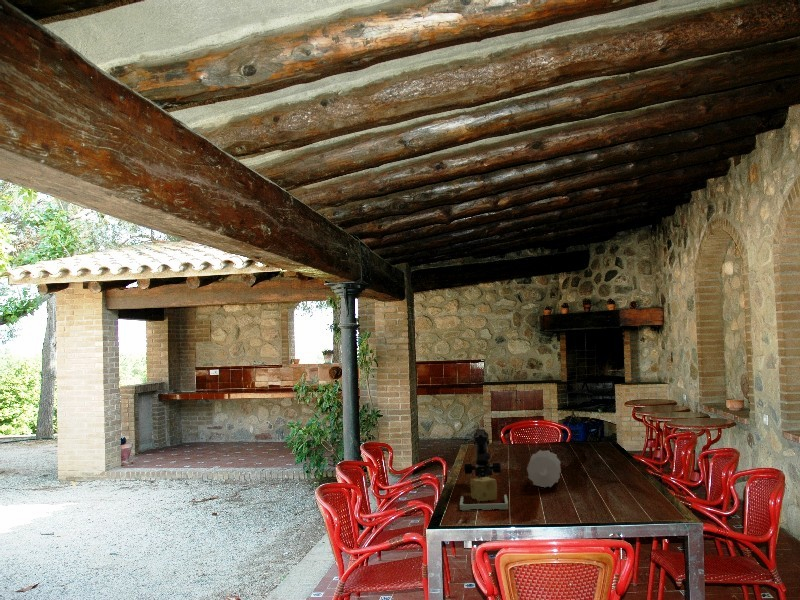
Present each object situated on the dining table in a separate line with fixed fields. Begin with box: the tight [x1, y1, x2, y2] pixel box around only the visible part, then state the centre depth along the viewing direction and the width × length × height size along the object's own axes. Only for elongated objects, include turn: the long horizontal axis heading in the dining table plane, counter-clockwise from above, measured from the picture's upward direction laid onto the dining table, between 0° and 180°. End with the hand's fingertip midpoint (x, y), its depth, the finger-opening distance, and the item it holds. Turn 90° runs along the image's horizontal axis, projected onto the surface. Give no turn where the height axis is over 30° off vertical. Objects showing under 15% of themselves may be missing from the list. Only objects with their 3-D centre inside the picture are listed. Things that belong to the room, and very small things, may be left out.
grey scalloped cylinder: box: [526, 449, 562, 488], centre depth 377 cm, size 18×18×25 cm
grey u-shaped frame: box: [459, 494, 509, 511], centre depth 338 cm, size 19×22×2 cm
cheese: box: [469, 477, 498, 502], centre depth 352 cm, size 10×11×10 cm
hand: (483, 482), depth 359 cm, fingers closed
